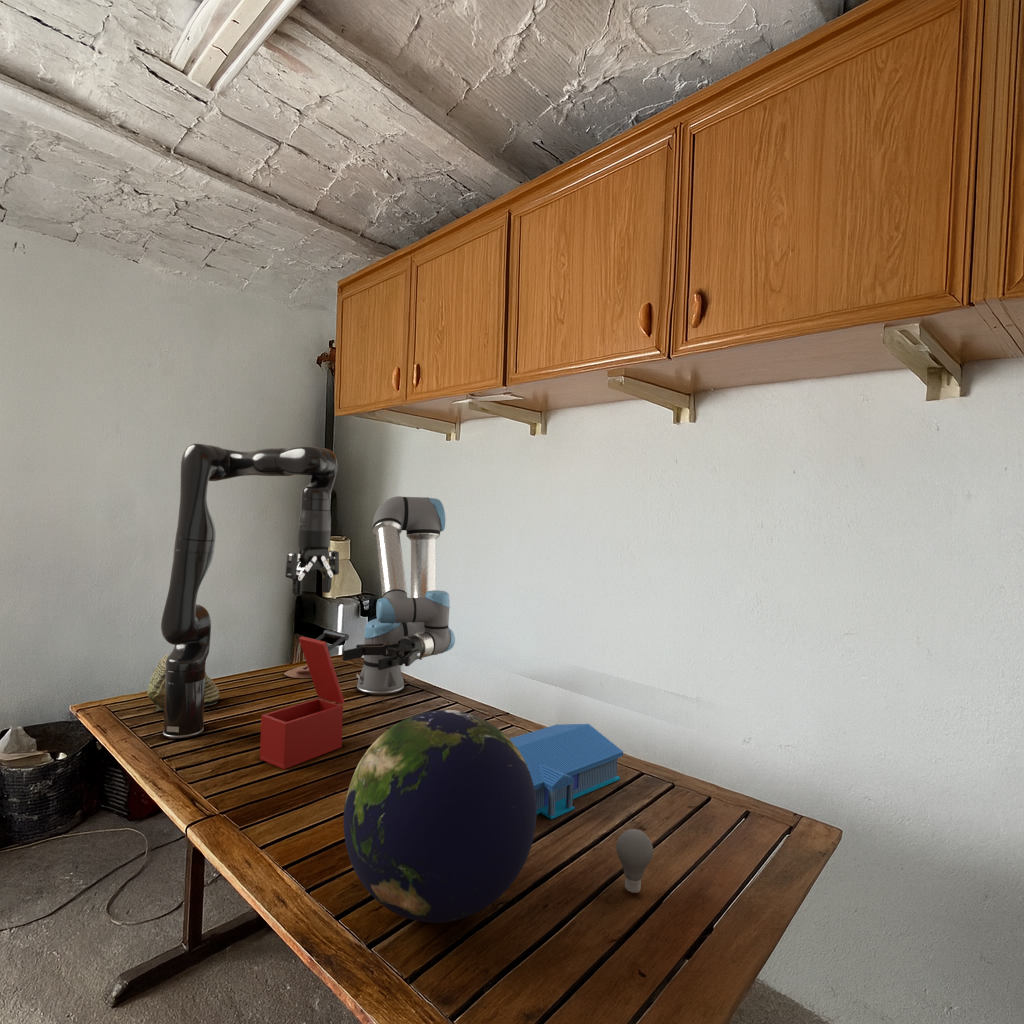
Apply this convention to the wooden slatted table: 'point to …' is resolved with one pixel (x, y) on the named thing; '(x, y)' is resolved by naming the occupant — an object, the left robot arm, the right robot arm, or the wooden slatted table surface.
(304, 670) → the anatomical model
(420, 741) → the globe
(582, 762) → the model building
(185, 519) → the left robot arm
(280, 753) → the chest
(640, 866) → the light bulb
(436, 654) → the right robot arm
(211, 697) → the fossil
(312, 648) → the lid
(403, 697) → the wooden slatted table surface
